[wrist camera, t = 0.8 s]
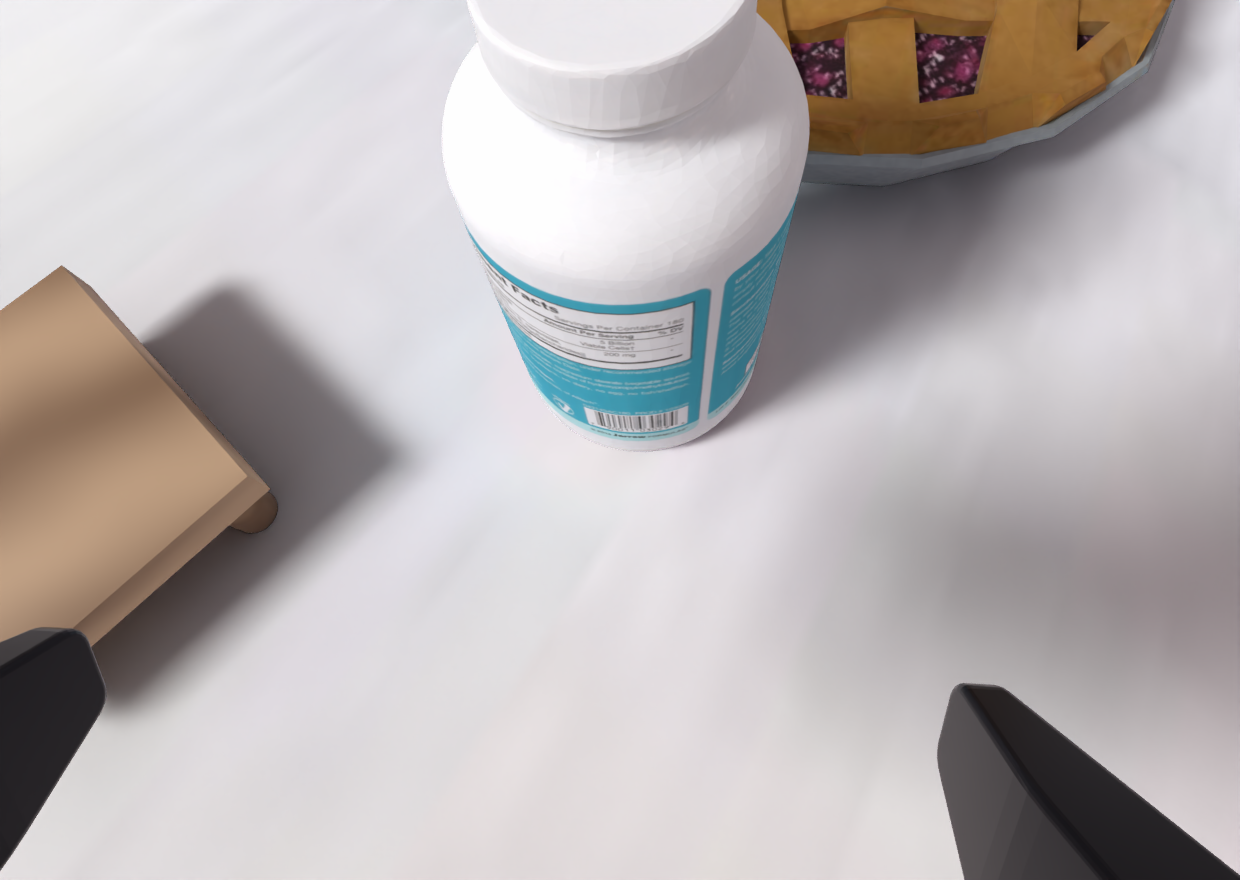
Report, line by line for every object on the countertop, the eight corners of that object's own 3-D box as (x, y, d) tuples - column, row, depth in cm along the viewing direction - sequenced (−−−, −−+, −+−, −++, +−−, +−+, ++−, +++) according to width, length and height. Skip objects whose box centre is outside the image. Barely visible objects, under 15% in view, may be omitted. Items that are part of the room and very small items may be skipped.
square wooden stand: (308, 509, 22) (247, 476, 19) (31, 759, 20) (-91, 769, 17) (139, 322, 25) (61, 265, 22) (-119, 523, 23) (-249, 494, 20)
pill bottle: (674, 225, 25) (684, -250, 13) (799, 383, 23) (966, -11, 10) (490, 327, 24) (304, -80, 12) (601, 504, 22) (519, 230, 9)
